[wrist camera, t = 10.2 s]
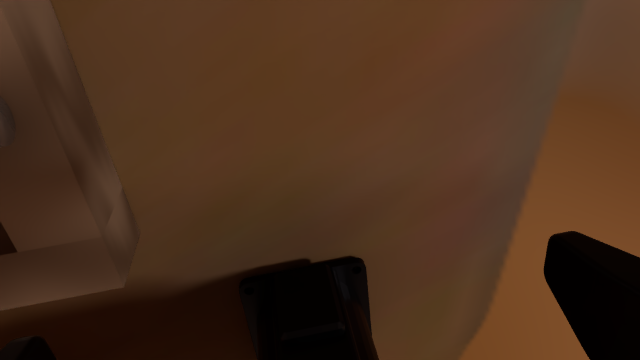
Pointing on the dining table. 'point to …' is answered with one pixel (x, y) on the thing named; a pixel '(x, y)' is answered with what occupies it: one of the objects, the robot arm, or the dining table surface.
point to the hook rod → (6, 124)
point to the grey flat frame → (55, 172)
